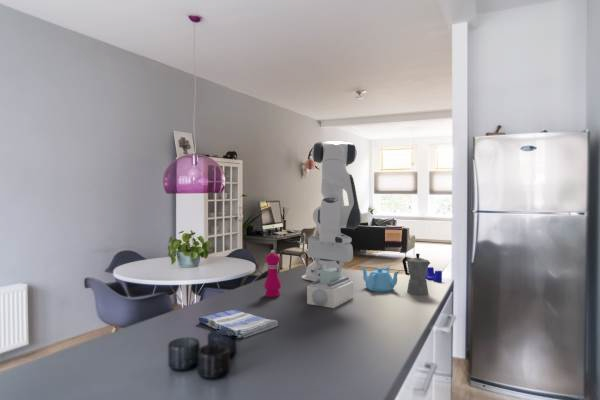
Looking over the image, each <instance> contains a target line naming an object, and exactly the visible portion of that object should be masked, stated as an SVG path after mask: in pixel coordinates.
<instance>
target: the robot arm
mask: <svg viewBox="0 0 600 400" xmlns="http://www.w3.org/2000/svg"><path fill="white" fill-rule="evenodd" d="M357 153H358V151H357V148H356V145H355V144H354V143H352V142H344V141H325V142H322V141H317V142H316V143H314V144H313V147H312V149H311V156H312V158H313V161H314V162H315V163H318V164H321V189H320V192H321V195H322V197H323V199H321V203H320V206H317V207H316V208H315V209H314V210H313V212H312V220H313V221H314V223H315V224H316V227H317V231H318V235H311V236H309V237H308V239H307V240H308V241H307V242H308V243H307V250H306V255H307V257H308V258H312V259H314V261H312V262H311V263H310V264H309V265H308V266H307V267H306V269H305V270H306V271H305V274H303V275H302V276H301V280H306V281H311V282H313V281H316V280H318V279H320V271H322V270H325V269H328V268H337V272H340V278H344V277H345V276H344V273H343V267H344V266H345V265H344V264H345V263H350V262H352V260H353V259H354V250H353V249H354V248H353V245H352V242H353V241H352V237H350V236H348V235H346V234H344V233H342V232H341V229H348V230H349V229H350V230H356V228H358V227H359V226H360V225H361V222H362V212H361V210H360V205H359V202H358V195H357V190H356V186H355V185H356V184H355V181H354V180H355V179H354V177H353V176H352V174H351V173H349V172H348V170H347V168H346V167H348V166H349V165H352V164H353V163H354V162H355V160H356V158H357V155H358V154H357ZM344 191H345V192H346V194H347V195H346V196H347V201H348V205H345V201H344V195H343V194H344Z"/></svg>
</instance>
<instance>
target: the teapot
mask: <svg viewBox="0 0 600 400" xmlns="http://www.w3.org/2000/svg"><path fill="white" fill-rule="evenodd" d="M360 268H361V269H362V272H363V281H364V282H365V288H367V290H369V291H371V292H377V293H378V292H379V293H385V292H387V293H388V292H391V291H393V290H394V289H395V286H396V285H397V283H398V274H399V273H400V271H395V272H394V273H393V277H392V275H391V274H390V265H389V266H386V267H385V270H384V268H383V267H377V268H376V269H375V270H372V271H371V272H369V274H368V272H367V269H366V268H365V267H363V266H360Z"/></svg>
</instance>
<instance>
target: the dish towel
mask: <svg viewBox="0 0 600 400" xmlns="http://www.w3.org/2000/svg"><path fill="white" fill-rule="evenodd" d="M198 321H199V324H201V325H204V326H207V325H208V326H207V327H210V328H212V329H214V330H217V329H230V330H233V331H234V332H235V333H236V336H237V337H236V338H238V339H241V338H242V337H243V339H245V338H247V337H250V336H253V335H257V334H259V333H262V332H265V331H268V330H270V329H274V328H276V327H277V326H279V322H278V321H277V320H276V319H268V318H264V317H261V316H258V315H254V314H251V313H248V312H247V313H246V312H243V311H241V310H240V311H239V310H238V309H231V310H226V311H220V312H216V313H213V314H209V315H206V316H204V315H203V316H201V317H198Z"/></svg>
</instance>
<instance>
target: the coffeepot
mask: <svg viewBox="0 0 600 400" xmlns="http://www.w3.org/2000/svg"><path fill="white" fill-rule="evenodd" d="M401 261H402V262H401V263H402V265H403V270H404V274H405V275H406V276H409V280H408V284H407V290H406V292H407V293H408V294H410V295H415V296H427V295H428V294H429V288H428V283H427V281H428V280H427V279H426V275H427V269H428V267H429V265H430V264H431V262H430V261H429V260H427V259H425V258H421V257H420V253H418V252H417V253H416V254H415V257H410V256H409V257H408V256H404V258H403V259H402V260H401Z"/></svg>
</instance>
